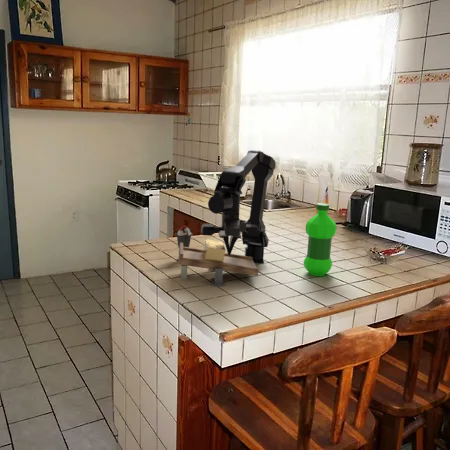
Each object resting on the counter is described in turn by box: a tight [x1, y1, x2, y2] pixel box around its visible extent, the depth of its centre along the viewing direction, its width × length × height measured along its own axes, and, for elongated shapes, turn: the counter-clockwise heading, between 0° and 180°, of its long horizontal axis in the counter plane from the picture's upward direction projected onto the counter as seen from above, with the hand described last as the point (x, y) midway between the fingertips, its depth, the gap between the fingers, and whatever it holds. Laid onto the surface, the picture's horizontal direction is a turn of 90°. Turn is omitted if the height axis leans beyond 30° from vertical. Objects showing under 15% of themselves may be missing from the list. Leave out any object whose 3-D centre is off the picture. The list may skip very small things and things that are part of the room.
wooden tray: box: [178, 242, 260, 277], centre depth 153 cm, size 26×15×4 cm, turn 96°
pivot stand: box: [180, 265, 226, 287], centre depth 153 cm, size 14×19×6 cm
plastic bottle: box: [303, 202, 338, 277], centre depth 158 cm, size 10×10×25 cm
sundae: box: [174, 221, 194, 262], centre depth 169 cm, size 7×7×15 cm
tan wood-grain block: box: [203, 239, 226, 263], centre depth 152 cm, size 6×10×5 cm, turn 6°
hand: (229, 254), depth 153 cm, fingers closed
